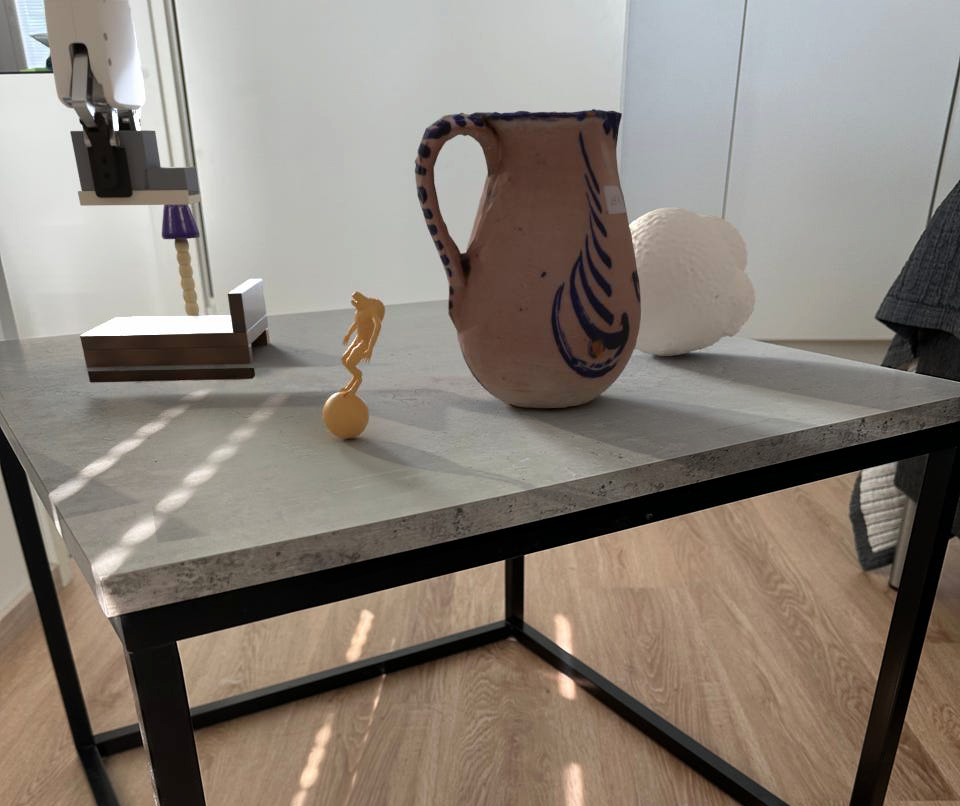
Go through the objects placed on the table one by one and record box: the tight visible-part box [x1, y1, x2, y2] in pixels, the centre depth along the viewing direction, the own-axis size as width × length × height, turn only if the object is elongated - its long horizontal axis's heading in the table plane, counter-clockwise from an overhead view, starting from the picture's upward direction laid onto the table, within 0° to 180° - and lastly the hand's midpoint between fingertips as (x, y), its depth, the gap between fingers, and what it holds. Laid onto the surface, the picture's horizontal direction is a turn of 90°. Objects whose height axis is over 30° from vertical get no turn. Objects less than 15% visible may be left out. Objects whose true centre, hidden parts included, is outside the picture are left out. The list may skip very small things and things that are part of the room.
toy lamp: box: [161, 205, 201, 316], centre depth 119 cm, size 5×5×17 cm
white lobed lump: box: [629, 206, 770, 357], centre depth 107 cm, size 20×18×16 cm
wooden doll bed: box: [79, 278, 271, 383], centre depth 105 cm, size 18×12×9 cm, turn 91°
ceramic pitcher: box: [414, 108, 641, 409], centre depth 85 cm, size 18×21×25 cm
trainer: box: [69, 129, 202, 207], centre depth 85 cm, size 10×4×6 cm, turn 90°
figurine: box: [322, 291, 386, 440], centre depth 78 cm, size 8×6×12 cm
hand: (124, 193), depth 86 cm, fingers closed on trainer, 4 cm apart
